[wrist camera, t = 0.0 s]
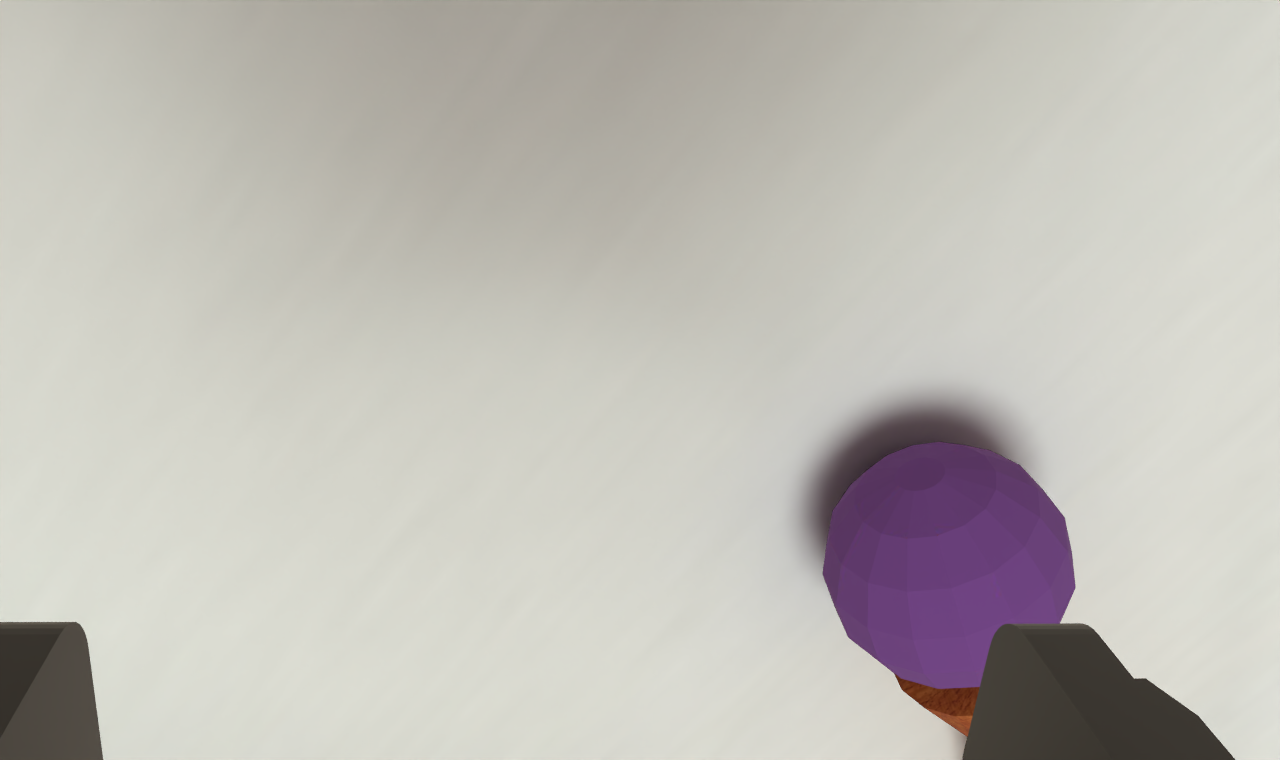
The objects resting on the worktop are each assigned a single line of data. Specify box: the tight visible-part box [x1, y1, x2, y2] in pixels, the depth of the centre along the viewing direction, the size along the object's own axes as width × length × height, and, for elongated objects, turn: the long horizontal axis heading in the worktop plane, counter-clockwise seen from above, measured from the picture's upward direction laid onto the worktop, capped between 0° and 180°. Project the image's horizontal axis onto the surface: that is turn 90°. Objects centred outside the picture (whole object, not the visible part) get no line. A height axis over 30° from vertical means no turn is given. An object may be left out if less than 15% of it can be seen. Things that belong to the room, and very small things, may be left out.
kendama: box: [823, 442, 1075, 737], centre depth 32 cm, size 6×6×20 cm
